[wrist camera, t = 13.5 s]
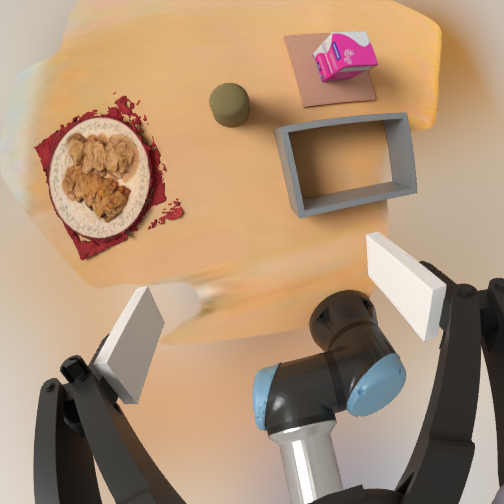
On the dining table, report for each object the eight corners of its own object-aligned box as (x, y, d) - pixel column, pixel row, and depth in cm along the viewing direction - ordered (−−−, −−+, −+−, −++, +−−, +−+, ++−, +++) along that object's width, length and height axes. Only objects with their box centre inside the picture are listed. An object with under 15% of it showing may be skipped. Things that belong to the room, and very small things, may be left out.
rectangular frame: (397, 185, 46) (417, 192, 40) (290, 208, 47) (299, 218, 41) (386, 114, 41) (406, 112, 34) (273, 129, 42) (279, 127, 35)
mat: (374, 100, 40) (375, 99, 39) (303, 107, 40) (304, 106, 40) (354, 34, 34) (356, 33, 34) (283, 37, 35) (283, 36, 35)
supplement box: (310, 54, 36) (331, 30, 25) (341, 51, 36) (368, 30, 25) (320, 83, 38) (344, 66, 28) (350, 79, 38) (381, 64, 27)
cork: (236, 87, 39) (236, 69, 28) (256, 115, 41) (261, 105, 31) (205, 105, 40) (195, 93, 29) (225, 134, 42) (220, 129, 32)
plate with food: (85, 257, 49) (77, 264, 46) (38, 146, 39) (28, 148, 36) (185, 213, 48) (181, 218, 44) (134, 82, 37) (127, 79, 34)
